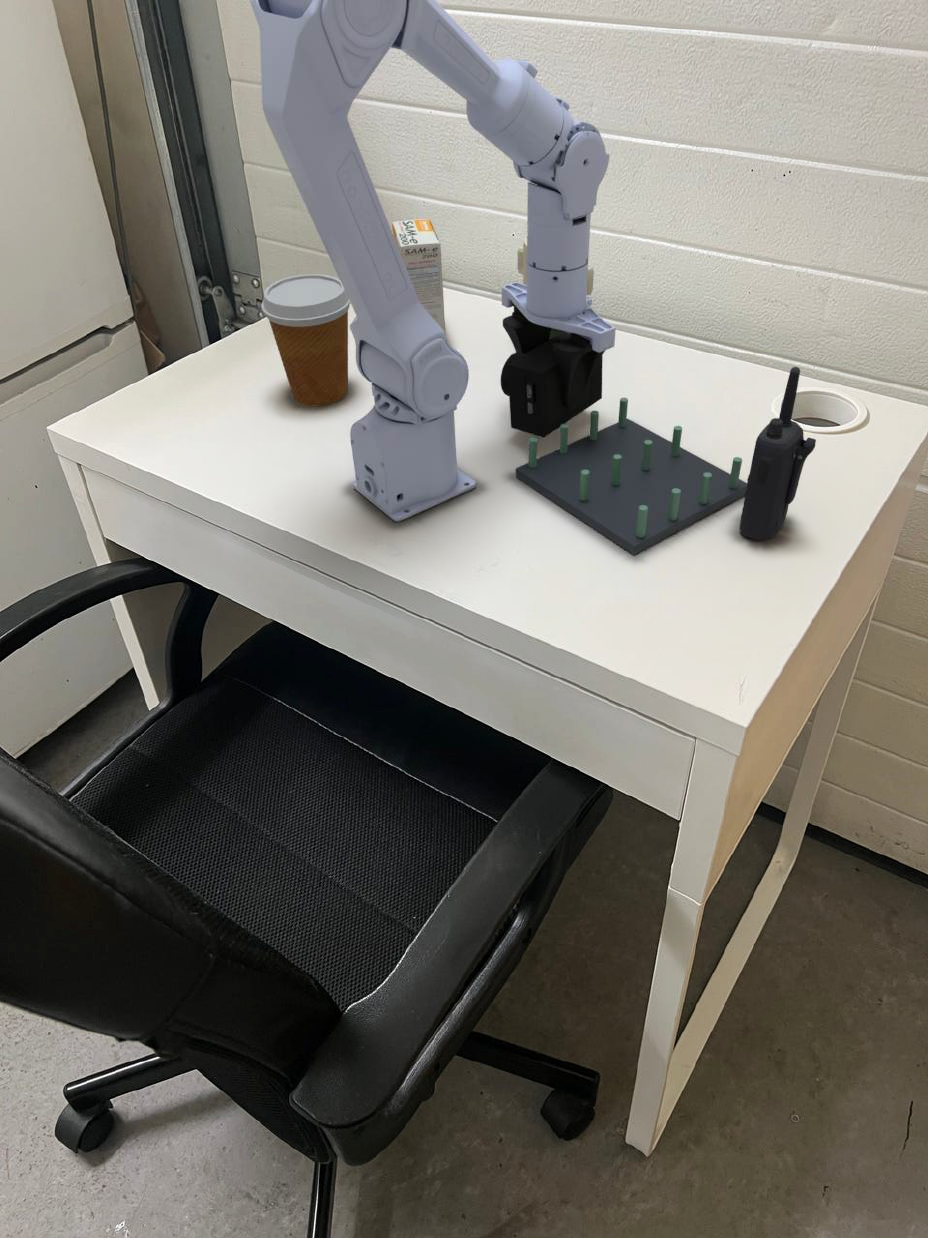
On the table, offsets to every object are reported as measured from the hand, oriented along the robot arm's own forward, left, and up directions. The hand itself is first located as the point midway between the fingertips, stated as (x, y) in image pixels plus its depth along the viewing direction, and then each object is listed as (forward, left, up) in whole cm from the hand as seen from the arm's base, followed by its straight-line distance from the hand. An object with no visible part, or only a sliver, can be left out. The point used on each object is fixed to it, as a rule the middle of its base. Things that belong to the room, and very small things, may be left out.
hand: (553, 392), depth 96 cm
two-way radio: (+3, -26, -4) cm, 27 cm away
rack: (-1, -13, -4) cm, 14 cm away
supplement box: (+2, +27, -4) cm, 27 cm away
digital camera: (0, 0, -2) cm, 2 cm away
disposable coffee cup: (-15, +23, -4) cm, 28 cm away
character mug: (+12, +14, -4) cm, 19 cm away
